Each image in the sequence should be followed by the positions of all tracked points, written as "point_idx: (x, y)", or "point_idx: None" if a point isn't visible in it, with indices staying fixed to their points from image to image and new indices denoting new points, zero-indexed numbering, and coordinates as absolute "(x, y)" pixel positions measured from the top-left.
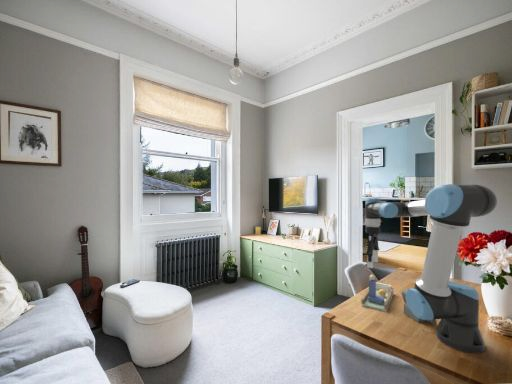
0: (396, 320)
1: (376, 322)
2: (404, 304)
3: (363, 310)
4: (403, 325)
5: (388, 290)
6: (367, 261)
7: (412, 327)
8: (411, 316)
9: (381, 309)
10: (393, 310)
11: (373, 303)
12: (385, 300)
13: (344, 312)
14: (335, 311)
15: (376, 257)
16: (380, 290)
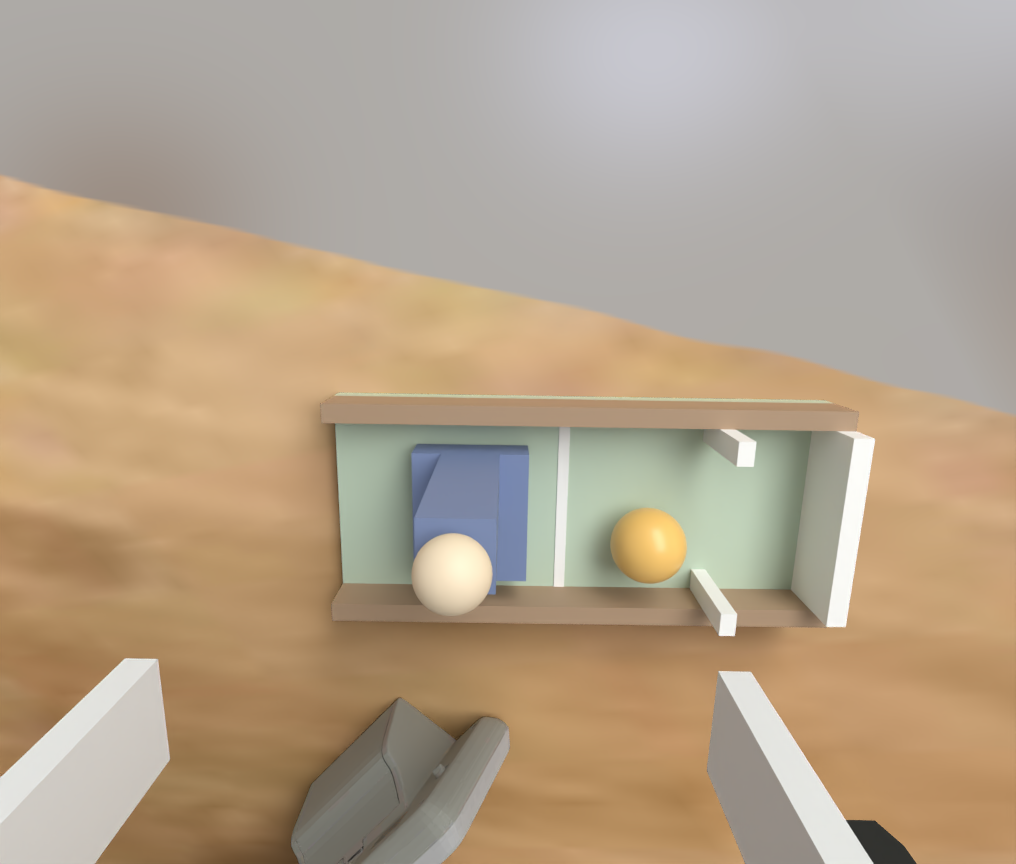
0: (241, 664)
1: (105, 551)
2: (387, 756)
3: (248, 428)
4: (195, 707)
5: (706, 602)
6: (20, 766)
7: (206, 754)
8: (346, 754)
9: (344, 558)
10: (410, 631)
11: (409, 488)
12: (547, 568)
13: (91, 291)
14: (49, 211)
15: (750, 849)
16: (635, 542)
